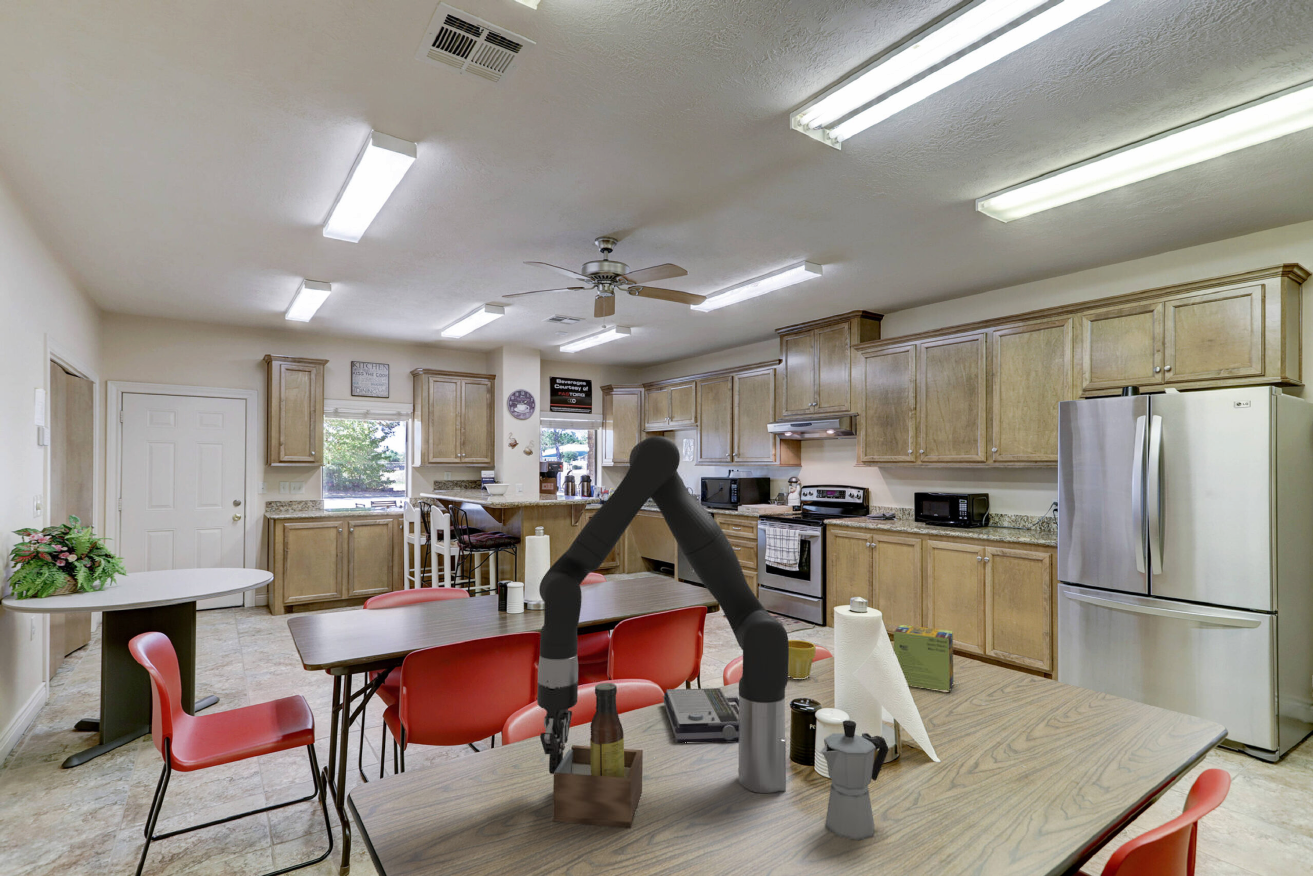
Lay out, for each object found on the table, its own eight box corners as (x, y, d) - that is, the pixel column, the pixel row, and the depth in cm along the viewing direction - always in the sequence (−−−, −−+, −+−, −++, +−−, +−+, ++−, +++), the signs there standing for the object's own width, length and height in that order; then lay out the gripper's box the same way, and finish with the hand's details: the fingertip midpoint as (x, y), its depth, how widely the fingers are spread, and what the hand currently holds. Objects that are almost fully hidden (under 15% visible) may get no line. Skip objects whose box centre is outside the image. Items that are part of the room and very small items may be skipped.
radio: (662, 687, 170) (736, 685, 173) (662, 707, 170) (736, 705, 172) (675, 723, 146) (761, 720, 148) (675, 746, 146) (761, 743, 148)
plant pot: (814, 672, 200) (814, 640, 200) (816, 683, 190) (816, 649, 190) (780, 670, 202) (780, 638, 202) (780, 680, 192) (780, 647, 192)
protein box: (950, 694, 182) (949, 638, 182) (893, 684, 189) (892, 631, 190) (954, 683, 191) (953, 630, 191) (899, 674, 198) (899, 624, 199)
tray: (634, 788, 123) (634, 754, 124) (624, 815, 113) (624, 778, 114) (568, 783, 125) (568, 749, 125) (553, 809, 115) (553, 773, 115)
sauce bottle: (629, 790, 121) (631, 682, 122) (616, 806, 115) (617, 693, 116) (598, 784, 123) (599, 678, 124) (583, 799, 117) (585, 688, 118)
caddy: (642, 792, 124) (642, 750, 125) (630, 828, 112) (631, 781, 112) (572, 786, 126) (572, 745, 127) (552, 821, 114) (553, 775, 114)
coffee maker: (837, 848, 107) (836, 737, 107) (804, 821, 115) (804, 718, 116) (905, 828, 112) (904, 724, 113) (870, 804, 121) (869, 707, 121)
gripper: (549, 667, 128) (547, 755, 128) (527, 689, 115) (524, 788, 115) (586, 669, 127) (584, 758, 127) (567, 691, 114) (565, 791, 113)
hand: (555, 772), depth 121 cm, fingers closed
